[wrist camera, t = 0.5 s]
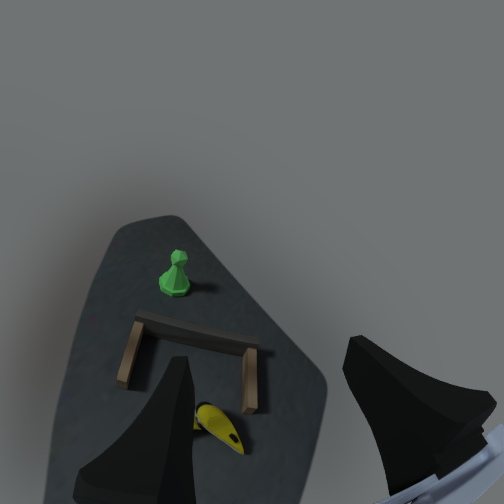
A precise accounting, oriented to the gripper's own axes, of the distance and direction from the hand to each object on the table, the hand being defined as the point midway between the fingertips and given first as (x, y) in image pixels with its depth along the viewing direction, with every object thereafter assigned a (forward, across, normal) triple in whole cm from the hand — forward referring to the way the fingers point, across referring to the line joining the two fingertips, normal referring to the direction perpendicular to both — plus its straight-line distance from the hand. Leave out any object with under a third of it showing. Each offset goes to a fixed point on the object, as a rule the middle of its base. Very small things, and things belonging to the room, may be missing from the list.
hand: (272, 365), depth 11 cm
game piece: (+25, +8, +9) cm, 28 cm away
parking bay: (+13, +6, +13) cm, 19 cm away
